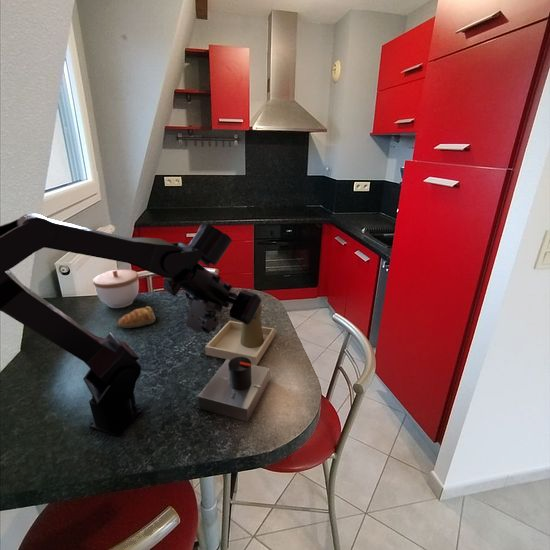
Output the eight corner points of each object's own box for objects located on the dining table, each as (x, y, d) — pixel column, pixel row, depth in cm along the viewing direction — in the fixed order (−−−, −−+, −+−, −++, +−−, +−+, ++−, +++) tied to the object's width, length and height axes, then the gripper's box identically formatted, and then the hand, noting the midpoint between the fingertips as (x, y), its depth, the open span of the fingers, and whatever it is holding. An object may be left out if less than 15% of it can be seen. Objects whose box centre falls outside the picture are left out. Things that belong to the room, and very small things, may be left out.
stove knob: (225, 387, 62) (224, 366, 60) (235, 373, 66) (234, 353, 64) (246, 392, 61) (245, 371, 59) (255, 377, 65) (254, 357, 63)
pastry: (122, 333, 86) (120, 320, 84) (116, 323, 90) (113, 311, 89) (157, 322, 91) (155, 310, 90) (149, 313, 96) (147, 301, 95)
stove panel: (249, 422, 58) (248, 409, 57) (199, 408, 61) (197, 395, 60) (271, 380, 69) (271, 368, 67) (227, 370, 72) (226, 358, 70)
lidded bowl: (149, 296, 107) (145, 265, 103) (126, 314, 95) (119, 280, 91) (116, 293, 109) (110, 262, 105) (89, 310, 98) (81, 276, 94)
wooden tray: (256, 365, 73) (256, 357, 72) (205, 354, 77) (205, 346, 76) (274, 336, 84) (274, 328, 84) (229, 327, 88) (229, 320, 87)
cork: (268, 339, 83) (268, 300, 79) (254, 350, 78) (253, 310, 74) (249, 332, 86) (248, 295, 82) (235, 343, 81) (233, 304, 77)
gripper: (151, 305, 67) (198, 329, 79) (211, 336, 56) (255, 358, 68) (179, 259, 70) (220, 289, 82) (241, 280, 59) (278, 311, 71)
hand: (241, 311), depth 75 cm, fingers open, 9 cm apart
